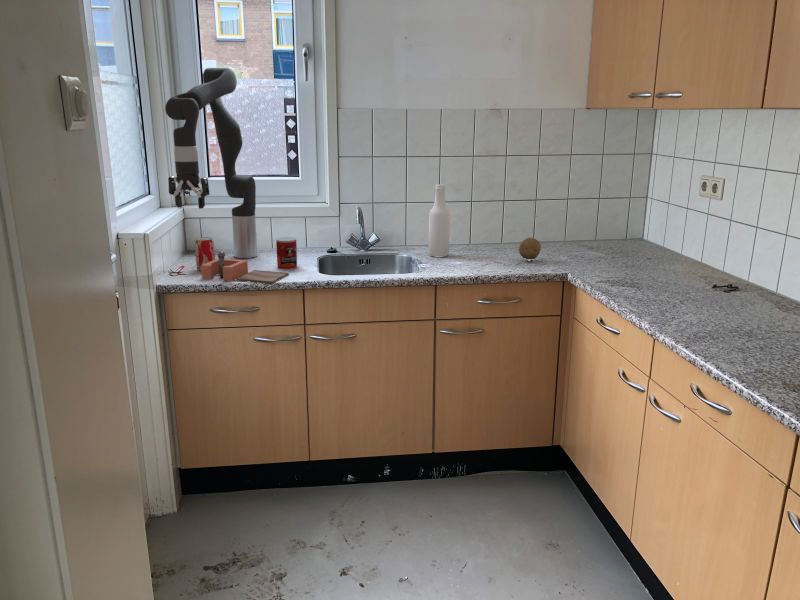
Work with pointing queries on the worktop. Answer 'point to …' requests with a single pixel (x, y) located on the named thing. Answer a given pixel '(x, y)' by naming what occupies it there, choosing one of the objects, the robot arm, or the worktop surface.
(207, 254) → the soda can
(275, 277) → the walnut board
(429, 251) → the alcohol
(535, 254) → the brown fuzzy ball
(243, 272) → the c link
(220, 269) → the metal pin
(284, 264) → the canned food
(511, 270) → the worktop surface
